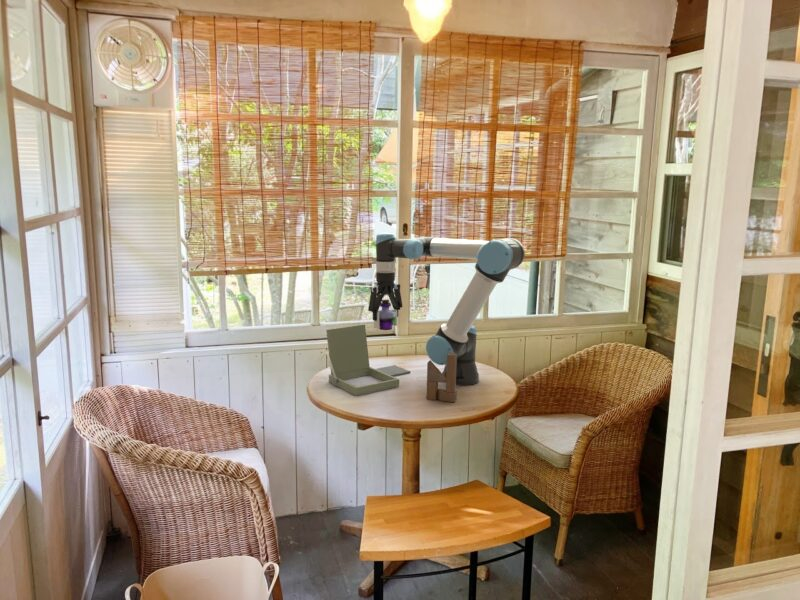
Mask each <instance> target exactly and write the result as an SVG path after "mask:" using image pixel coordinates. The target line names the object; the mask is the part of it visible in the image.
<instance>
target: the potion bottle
mask: <svg viewBox="0 0 800 600" xmlns="http://www.w3.org/2000/svg"><path fill="white" fill-rule="evenodd" d="M391 306H392V304H391V301H390V299H382V301H381V304H380V307H381V309H380V310H378V313H379V329H378V330H380V331H391V330H393V326H394V325H393V323H394V322H395V315H396V312H395V311H392V309H390V307H391Z"/></svg>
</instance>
